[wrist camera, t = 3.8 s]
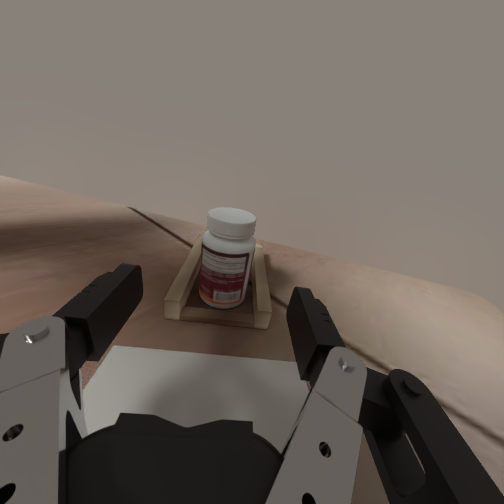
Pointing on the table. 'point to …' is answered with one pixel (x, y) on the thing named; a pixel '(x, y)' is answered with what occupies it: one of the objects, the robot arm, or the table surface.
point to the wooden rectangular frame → (179, 311)
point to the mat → (196, 390)
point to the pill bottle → (226, 257)
